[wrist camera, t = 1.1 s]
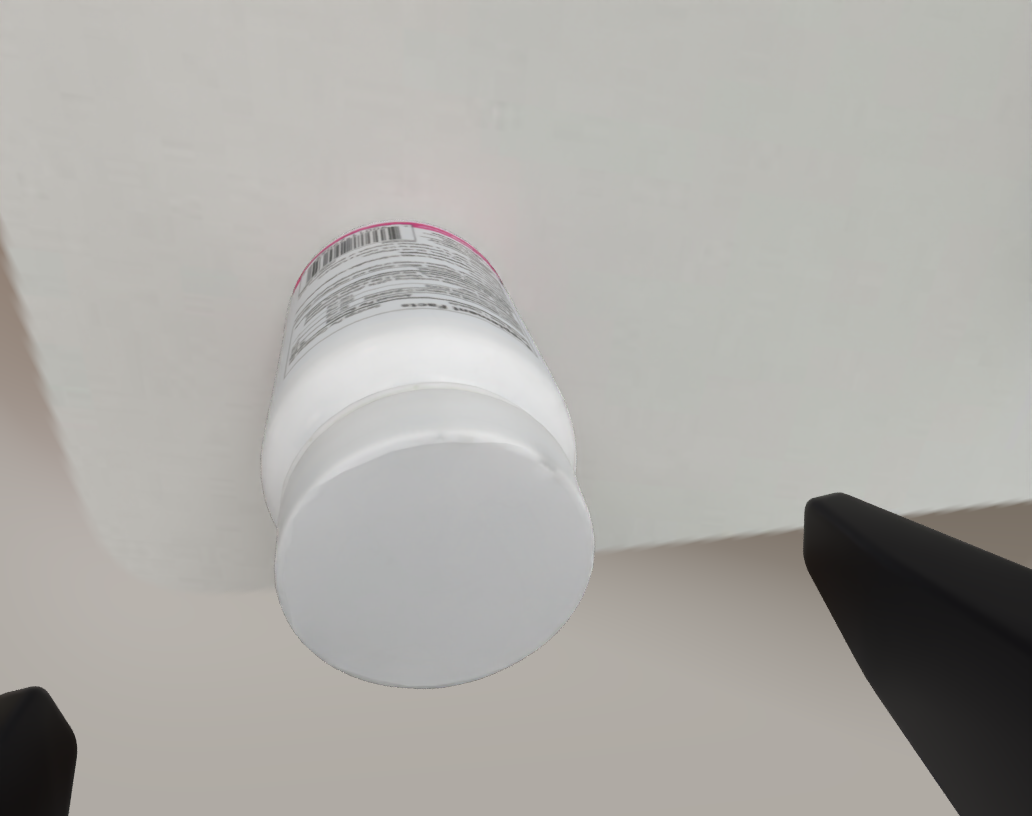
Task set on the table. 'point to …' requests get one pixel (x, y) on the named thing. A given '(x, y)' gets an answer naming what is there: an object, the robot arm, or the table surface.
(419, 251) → the pill bottle
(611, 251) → the table surface
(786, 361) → the table surface
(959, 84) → the table surface
